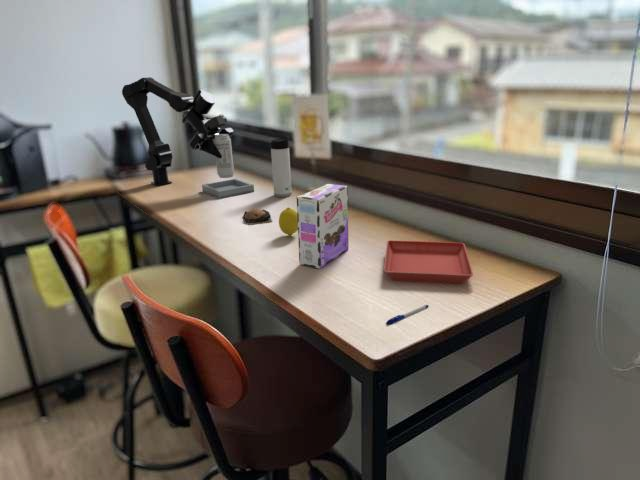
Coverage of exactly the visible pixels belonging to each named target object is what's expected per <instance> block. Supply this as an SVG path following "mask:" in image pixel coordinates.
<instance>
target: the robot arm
mask: <svg viewBox="0 0 640 480" xmlns="http://www.w3.org/2000/svg"><path fill="white" fill-rule="evenodd" d="M149 93H151V94H153V95H155V96H157V97H158V98H160V99H162V100H163V101H166V102H167V103H168V104H169V106H170V108H171V109H173V110H174V111H175V112H177V113H184V112H186V113H185V114H183V115H182V119H181V120H182V124H184V123H188V124H190V125H191V127H192V128H193V129H194V131H193V133H194V136H193V137H192V139H191V140H190V142H189V146H190V148H191V149H192V150H193V151H197V150H199V151H202V152H205V153H207V154H209V155H212V156H214V157H215V158H216V157H218V158H222V155H221V154H220V152H219V151H218V149H217V148H216V147H215V145H214V138H215V135H218V134H229V137H230V138H232V137H233V135H234V133H235V131H234V129H233V128H232V127H225V128H220V127H223V126H225V125H226V124H227V122H228V120H227V117H226V116H225V115H224V114H223V113H222V114H219V115H217V116H214V117H212V118H210V119H207V117H206V116H205V115H208V114H209V112H210V111H211V110H212V108H213V107H214V105H215V103H217V102H216V101H217V100H216V99H217V98H216V97H215V96H214V95H213V94H211V93H209V92H208V91H205V89H199V90H198V91H197V93H196V95H195V97H193V96H192V95H190V94H188V93H184V92H179V91H175V90H174V89H171V88H170V87H168V86H167V85H165V84H162V83H161V82H158V81H157V80H155V79H154V78H153V77H150V76H149V77H148V76H147V77H141V78H139V79H138V80H136V81H133V82H132V83H130V84H124V85H123V87H122V90H121V94H122V96H123V99H124V101H125V102H126V104H127V105H128V106H129V107H131V108H132V109H133V111H134V113H135V115H136V117H137V120H138V122H139V124H140V127H141V130H142V132H143V134H144V136H145V138H146V141H147V143H148V149H147V155H148V159H147V161H146V162H145V164H144V166H145V168H146V170H147V171H151V172H152V179H153V181H151V182H150V184H152V185H154V186H155V187H157V186H158V187H159V186H162V185H169V184H173V182H172V181H171V180H169V175H168V168H171V167H172V161H173V151H172V150H171V147H170V145H169V143H164V141H162V139H161V136H160V135H159V132H158V129H157V128H156V125H155V122H154V120H153V118H152V115H151V113H150V111H149V107H148V99H149V97H148V95H149ZM218 132H219V133H218ZM233 155H234V151H233V150H232V156H233Z"/></svg>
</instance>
